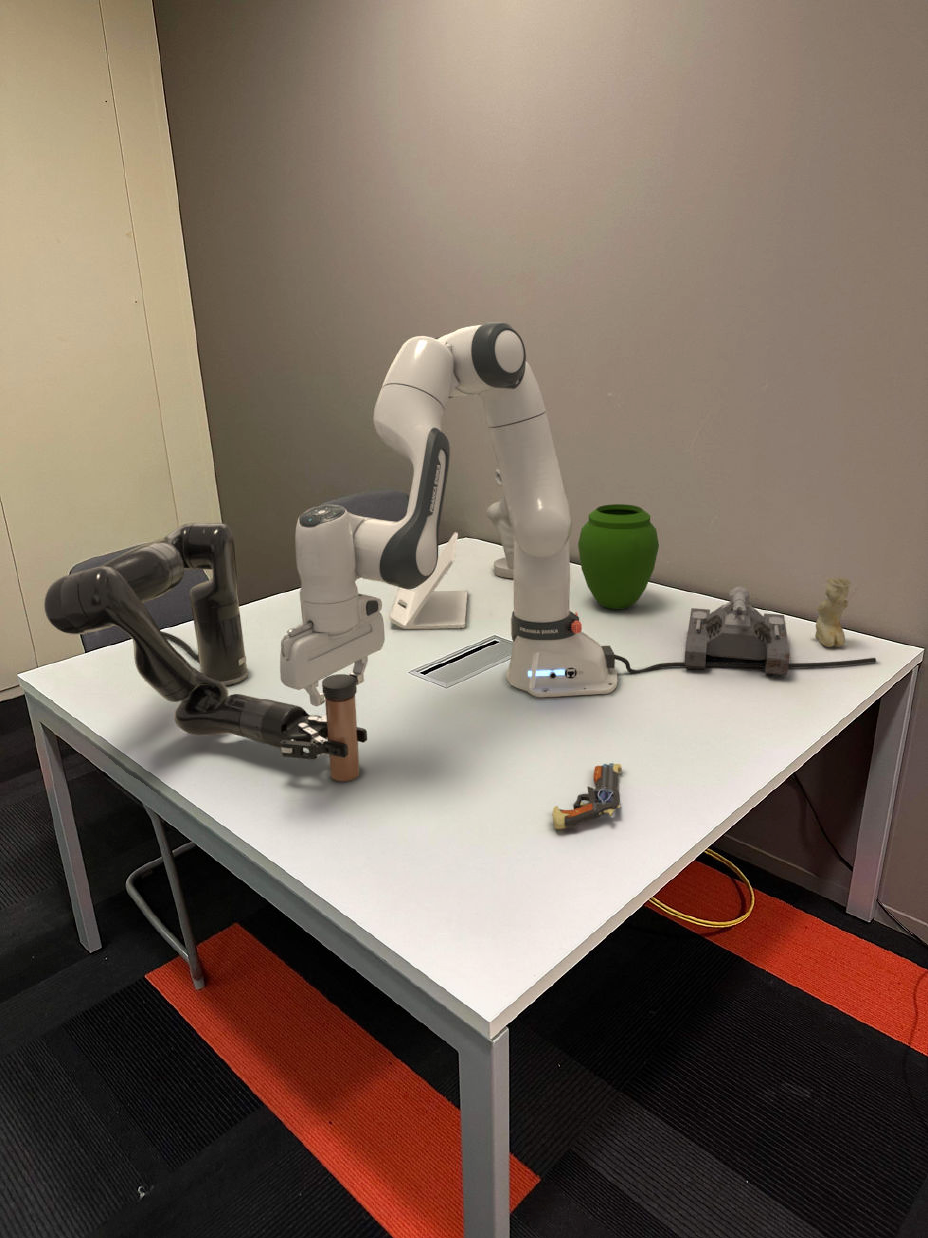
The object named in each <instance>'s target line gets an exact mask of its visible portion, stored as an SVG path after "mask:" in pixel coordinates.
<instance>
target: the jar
mask: <svg viewBox="0 0 928 1238" xmlns="http://www.w3.org/2000/svg"><path fill="white" fill-rule="evenodd" d="M324 700H325V702H324V705H325V715H326V720H327V734H328V740H332V741H336V742H340V743H344V744H346V745H347V746H348V756H346V757H345V758H343V757H337V756H333V755H329V754H328V759H329V760H328V761H329V776H330V778H331V779H332V780H335V781H337V782H350V781H352V780H355V779H356V778H358V777H359V775H360V757H359V741H358V737H357V727H358V721H357V720H358V719H357V703H356V694H355V695H354V696H352V697H350V698H348V699H343V700H332V699H328V698H326V697H324Z"/></svg>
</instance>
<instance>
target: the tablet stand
mask: <svg viewBox="0 0 928 1238" xmlns="http://www.w3.org/2000/svg"><path fill="white" fill-rule="evenodd" d="M458 537H459V533H458V532H456V531H455V532H453V534H452V535H451V537H450V539H449V540H448V542H447V543H446V544H445V546H444V548H443V549H442V551H441V552H440V554H438V561H437V565H436V568H435V571H434V572H433V574H432V575H431V576H430V577H429V578H428V579H427V580H426V581H425V582H424V583H422V584H421V585H419V586H418V587H416V588H415V590H413V589H410V590H408V589H404V588H400V587H397V588H398V589H397V591H396V595H395V598H394V601H393V604H392V607H391V610H390V612H389V613H390V614H389V617H388V621H389V622H391V623H392V624H394V625H396V626H398V627H399V628H401V629H402V630H426V629H427V630H429V629H430V630H431V629H435V630H436V629H437V630H438V629H464V628H465V627H466V618H467V617H466V616H467V605H468V591H467V590H436V589H437V587H438V585H440V582H441V581H442V580H443V578H444V577H445V575H446V574H447V573H448V571H449V570H450V569H451V567H452V566H453V564H454V562H455V558H456V553H457V545H458ZM399 603H400V604H399ZM402 605H403V606H405V607H403V606H402Z"/></svg>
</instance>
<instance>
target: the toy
mask: <svg viewBox="0 0 928 1238" xmlns="http://www.w3.org/2000/svg"><path fill="white" fill-rule="evenodd" d="M728 600H729V602H727V603H725V604H722V605H721V606H719V607H717V608H715V610H713V611H711V609H708V608H707V609H706V608H695V607H692V608H691V609H690V616H689V622H688V629H687V635H686V640H685V641H686V642H685V651H684V661H683V662H684V663H685V665H686V666H685V669H695V670H705V668H706V666H705V662H707V661H706V660H707V656H710V657H712V658H713V657H714V658H725V659H735V660H748V661H763V660H764V662H763V663H765V667H764V671H765V672H764V674H765V675H775V676H776V675H777V676H785V675H788V670H789V668H788V666H789V663H790V658H791V657H790V656H791V655H790V648H789V647H790V646H789V640H788V632H787V627H786V619H785V618H786V617H785V614H778V613H763V615H762V613H760V611H758V610H757V609H756V608H755V607H754V606H752V605H750V604H749V603H748V602H749V600H750V592H749V590H748V589H747V588H745V587H744V586H735V587H733V589H732V590H730V591H729V594H728Z"/></svg>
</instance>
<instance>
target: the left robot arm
mask: <svg viewBox="0 0 928 1238" xmlns="http://www.w3.org/2000/svg"><path fill="white" fill-rule="evenodd" d="M235 549H236V548H235V540H234V535H233V532H232V530H231V528H230V527H229V525H228V524H226V523H223V522H189V523H184V524H182V525H180V526H178V527H176V528H175V529H174V530H172V531H171V532H169V533H168V534H166V535H164V537H161V538H157V539H155V540H153V541H150V542H147V543H143V544H142V545H139V546H137V547H134V548H132V549H130V550H128V551H126V552H124V553H123V554H120V555H118V556H117V557H115V558H112V559H111V560H109V561H107V562H106V563H104V564H102V565H100V566H97V567H91V568H88V569H85V570H82V571H78V572H74V573H71V574H67V575H63V576H61V577H59V578H57V579H56V580H55V581H54V582H53V583H52V584H50V586H49V588H48V589H47V591H46V593H45V597H44V603H43V606H44V607H43V608H44V613H45V617H46V619H47V621H48V622H49V623H50V624H51V625H52V626H53V627H54V628H55V629H57V630H58V631H60V632H62V633H65V634H68V635H85V634H88V633H93V632H98V631H101V630H104V629H108V628H112V627H115V626H116V627H118V628H120V629H121V630H122V631H123V632H125V633H126V634H127V635H128V636H129V637H130V638H131V640H132V643H133V658H134V659H133V660H134V664H135V666H136V670H137V672H138V674H139V676H140V677H141V678H142V679H143V680H144V681H145V682H146V683H147V684H148V686H150V687H151V688H152V689H153V690H154V691H155V692H156V693H158V694H159V695H160V696H161V697H162V698H163V699H165V700H166V701H169V702H172V703H178V702H179V703H178V705H177V707H176V709H175V711H174V713H173V719H174V723H175V724H176V726H177V727H178V728H179V729H180V730H181V731H184V732H185V733H186V734H190V735H193V736H215V735H235V736H239V737H243V738H247V739H249V740H251V741H253V742H256V743H260V744H264V745H267V746H269V747H270V746H271V747H275V748H278V749H280V750H281V756H282V757H284V758H293V759H303V760H311V761H312V760H316V759H318V756H325V755H328V756H329V755H333V756H337V757H343V758H345V757H346V756H348V746H347V745H346V744H344V743H340V742H336V741H332V740H328V734H327V720H326V714H324V715H321V716H320V715H317V714H316V715H313V714H312V715H311V714H309V713H308V712H307V711H306V710H305V709H304V708H303V707H302V706H299V705H295V704H291V703H287V702H282V701H278V700H274V699H273V700H272V699H269V698H258V697H254V696H250V695H245V694H240V693H233V694H230V695H229V690H228V687H227V686H231V685H232V686H233V685H235V684H238V683H241V682H243V681H244V680H245V679H247V678H248V676H249V670H248V667H247V655H246V649H245V642H244V636H243V635H244V634H243V627H242V620H241V612H240V605H239V598H238V597H239V596H238V575H237V574H238V573H237V564H236V550H235ZM185 570H212V578H211V579H208V580H206V581H203V582H200V583H197V584H196V585H194V586H193V587H192V588H190V591H189V600H190V606H191V612H192V618H193V624H194V631H195V632H194V633H195V638H196V645H197V653H196V652H195V651H194V650H193V649H192V647H191V646H189V644H187V643H186V642H185V641H184V640H182V639H181V638H179V637H178V636H176V635H173V634H171V633H168V632H165V631H161V629H160V628H159V626H158V624H157V623H156V622H155V620H154V618H153V617H152V615H151V613H150V612H149V610H148V609H147V607H146V606H145V605H144V603H145V602H149V601H151V600H154V599H157V598H159V597H162V596H163V595H165V594H166V593H168V592H170V591H172V590H174V589H175V588H176V587H177V586H178V585H179V584H180V583H181V581H182V580H183V577H184V575H185ZM167 638H168V639H169V640H172V641H174V642H175V643H177V644H179V645H180V646H182V647H183V648H184V649H185V650H186V651H187V652H188V653H189V655H190V656H191V657H192V658H193V659H195V660H198V663H199V667H200V671H199V670H198V669H196V668H195V667H193V666H192V664H190V663H189V661H187V659H185V658H184V656H182V655H181V654H180V653H179V652H178V651H177V650H176V649H175V648H174V647H173V646H172V644H171V643H170V642H169V641H168V639H167ZM357 737H358V743H365V742H367V741H368V731H367V729H365V728H363V727H359V726H357ZM304 749H306V750H308V752H305V751H304Z"/></svg>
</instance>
